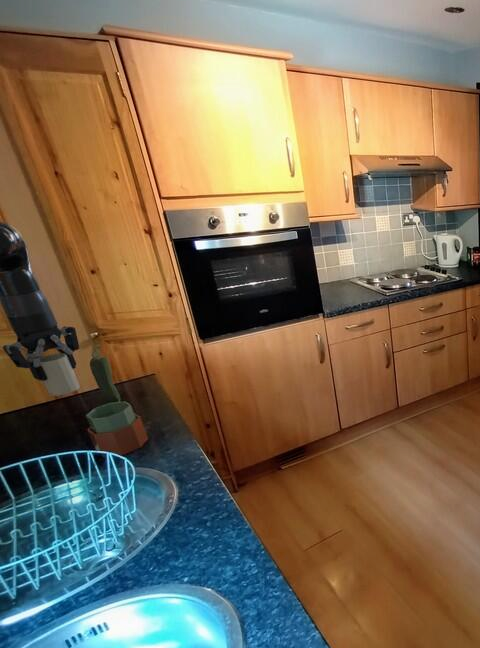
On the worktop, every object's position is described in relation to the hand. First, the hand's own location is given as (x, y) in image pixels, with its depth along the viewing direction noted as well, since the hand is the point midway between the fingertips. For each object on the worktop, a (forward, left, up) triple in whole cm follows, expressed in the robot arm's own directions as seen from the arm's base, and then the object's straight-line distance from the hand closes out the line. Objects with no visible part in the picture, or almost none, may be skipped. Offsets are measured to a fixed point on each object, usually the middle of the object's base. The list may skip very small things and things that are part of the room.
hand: (57, 373), depth 113 cm
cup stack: (+5, -9, -21) cm, 23 cm away
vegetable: (+13, +19, -21) cm, 31 cm away
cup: (0, 0, -5) cm, 5 cm away
